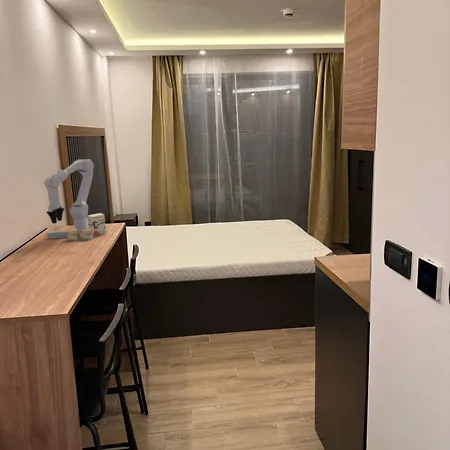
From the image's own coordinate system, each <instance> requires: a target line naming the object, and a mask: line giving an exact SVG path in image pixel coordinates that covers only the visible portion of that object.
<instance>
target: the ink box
mask: <svg viewBox="0 0 450 450" xmlns="http://www.w3.org/2000/svg"><path fill="white" fill-rule="evenodd" d="M87 219H88V225H89V229H92V228H93V231H94V236H98V235H102V234H107V228H106V217H105V214H104V213H101V212H100V213H94V214H89V215H87Z"/></svg>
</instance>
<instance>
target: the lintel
mask: <svg viewBox="0 0 450 450" xmlns="http://www.w3.org/2000/svg"><path fill="white" fill-rule="evenodd" d="M67 231H68V230H52V231H47V233H46V237H47V239H49V240H50V239H68V234H67Z"/></svg>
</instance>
